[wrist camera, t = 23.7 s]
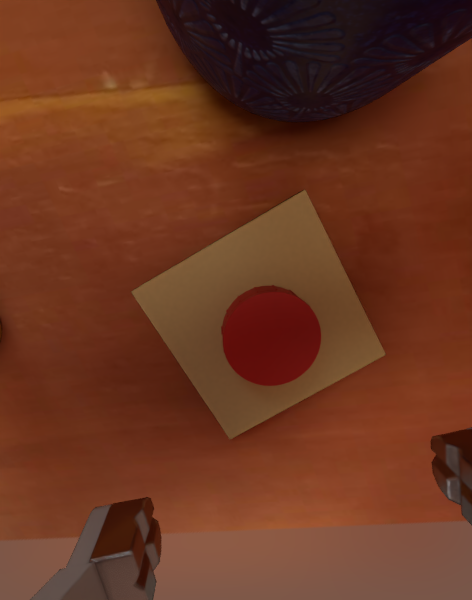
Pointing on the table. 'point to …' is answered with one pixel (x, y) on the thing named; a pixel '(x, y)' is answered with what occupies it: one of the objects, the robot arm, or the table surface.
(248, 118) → the table surface
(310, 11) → the planter
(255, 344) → the red lid
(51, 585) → the robot arm
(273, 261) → the cork mat
